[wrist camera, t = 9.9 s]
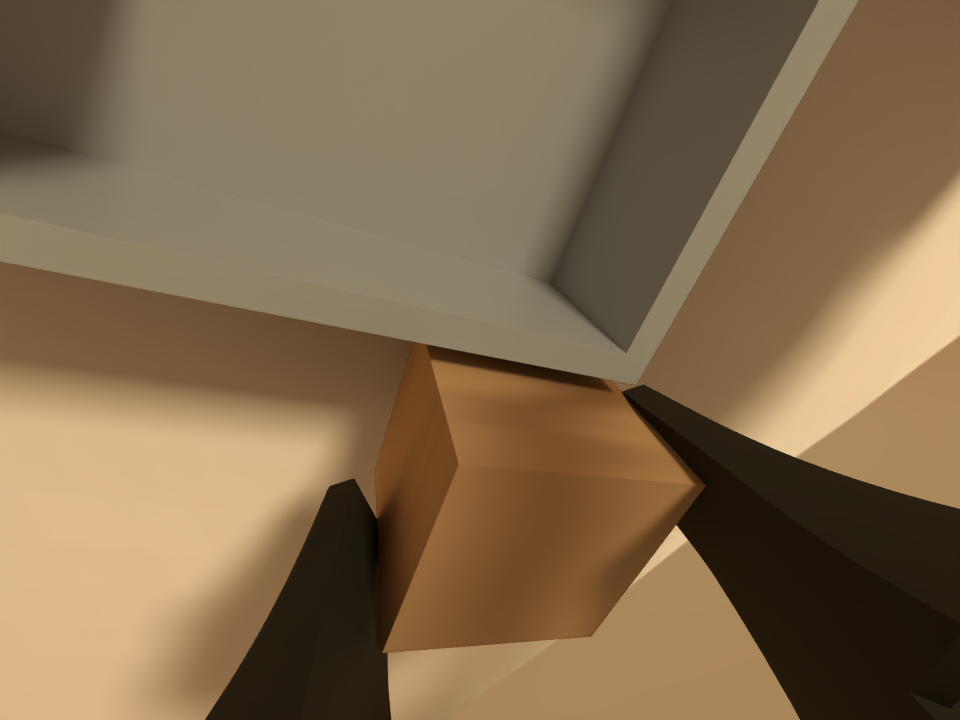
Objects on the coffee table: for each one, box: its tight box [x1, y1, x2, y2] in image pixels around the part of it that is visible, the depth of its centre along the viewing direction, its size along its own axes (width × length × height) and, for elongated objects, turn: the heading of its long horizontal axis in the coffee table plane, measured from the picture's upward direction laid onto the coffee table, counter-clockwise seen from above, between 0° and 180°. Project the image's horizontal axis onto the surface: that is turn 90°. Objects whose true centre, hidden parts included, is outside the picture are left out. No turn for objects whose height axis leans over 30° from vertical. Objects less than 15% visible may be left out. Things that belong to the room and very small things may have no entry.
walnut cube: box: [375, 342, 706, 653], centre depth 10 cm, size 5×5×5 cm
